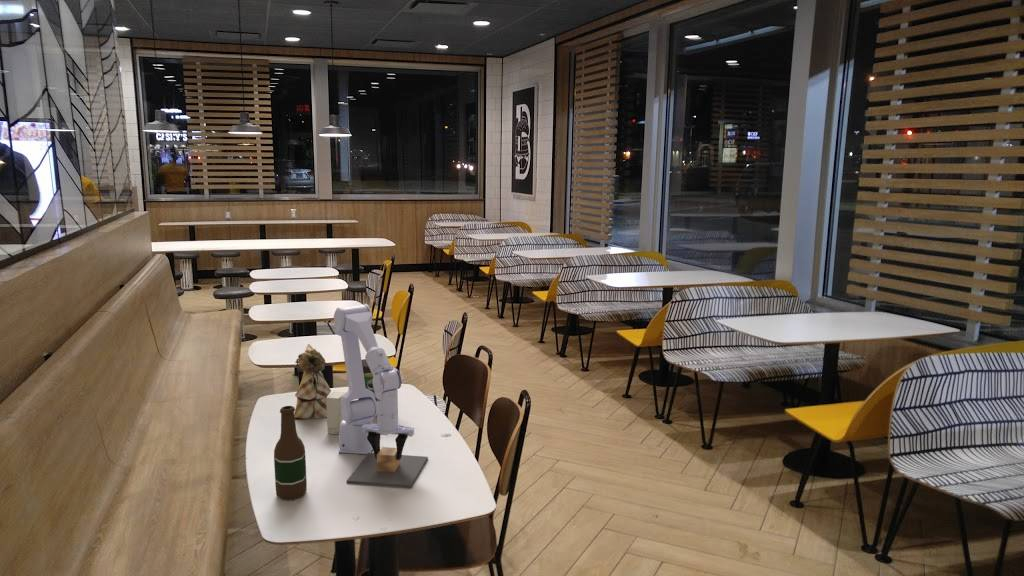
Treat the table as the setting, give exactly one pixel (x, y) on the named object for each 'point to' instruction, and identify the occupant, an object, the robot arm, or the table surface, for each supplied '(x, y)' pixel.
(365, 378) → the coffee jar
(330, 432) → the skincare box
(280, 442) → the beer bottle
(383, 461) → the oak cube
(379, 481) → the charcoal mat
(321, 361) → the plush toy
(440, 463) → the table surface
